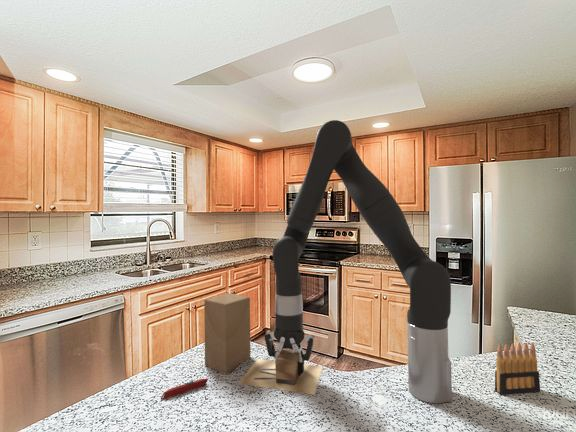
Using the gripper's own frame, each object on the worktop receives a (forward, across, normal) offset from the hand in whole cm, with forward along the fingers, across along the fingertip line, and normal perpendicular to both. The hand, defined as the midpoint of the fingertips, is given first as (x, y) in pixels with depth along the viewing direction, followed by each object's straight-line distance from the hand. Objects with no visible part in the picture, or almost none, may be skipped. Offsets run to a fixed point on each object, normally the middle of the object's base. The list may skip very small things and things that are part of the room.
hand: (289, 372), depth 80 cm
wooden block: (+2, +21, -5) cm, 22 cm away
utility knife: (+3, +25, +11) cm, 27 cm away
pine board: (+2, +2, 0) cm, 3 cm away
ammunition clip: (+2, -57, -9) cm, 57 cm away
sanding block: (+1, 0, 0) cm, 1 cm away
